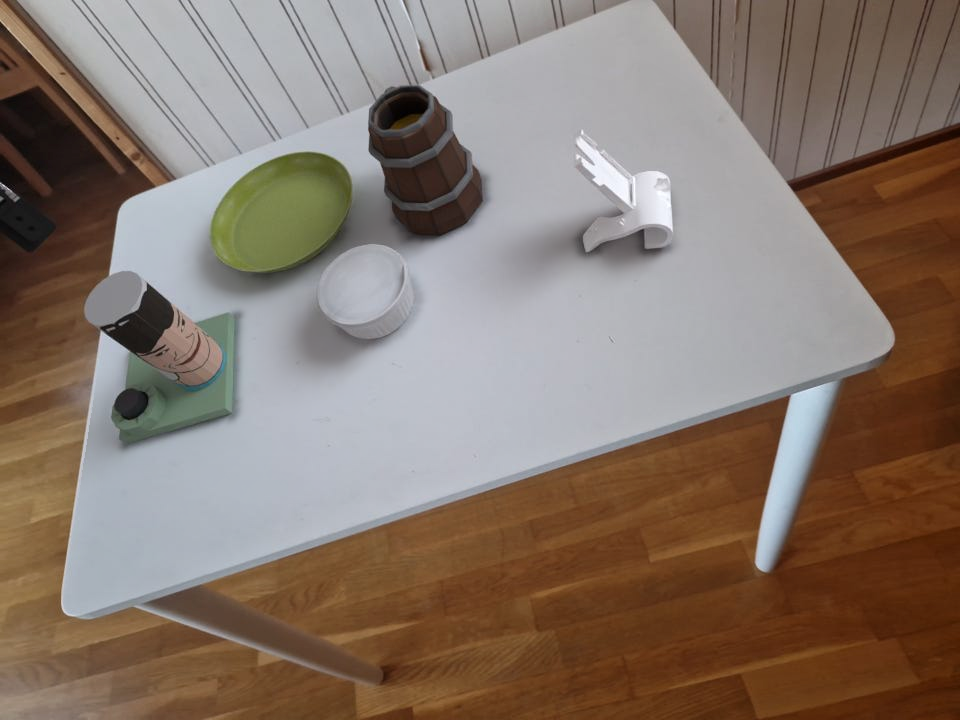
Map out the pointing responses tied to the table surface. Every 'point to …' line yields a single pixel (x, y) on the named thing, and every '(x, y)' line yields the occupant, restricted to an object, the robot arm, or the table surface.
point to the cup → (154, 330)
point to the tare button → (131, 403)
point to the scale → (179, 391)
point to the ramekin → (366, 291)
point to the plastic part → (625, 199)
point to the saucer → (282, 212)
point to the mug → (422, 161)
